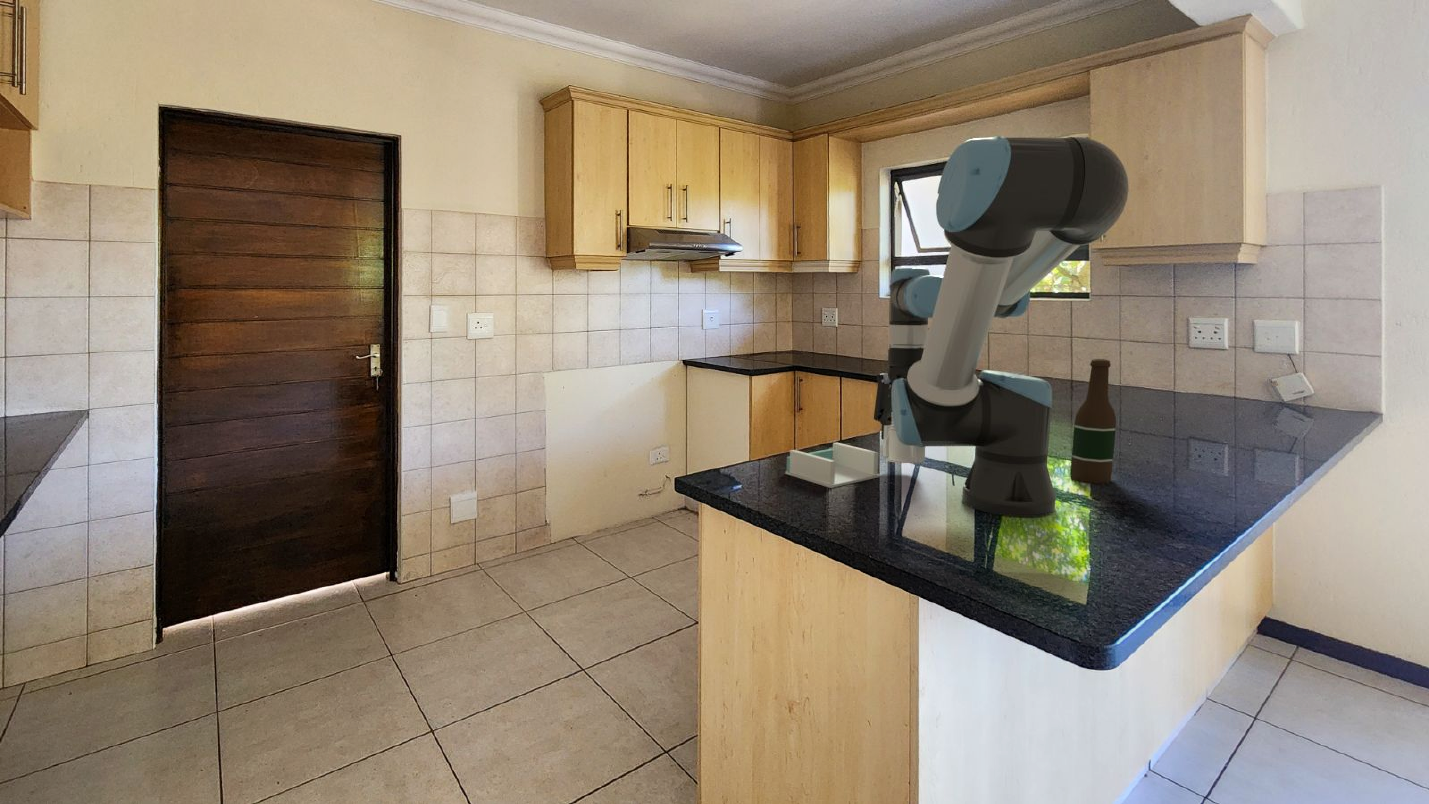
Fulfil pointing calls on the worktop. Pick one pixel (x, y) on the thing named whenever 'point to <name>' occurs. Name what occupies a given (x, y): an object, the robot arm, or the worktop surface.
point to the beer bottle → (1094, 430)
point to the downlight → (898, 448)
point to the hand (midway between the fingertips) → (903, 458)
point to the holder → (834, 465)
